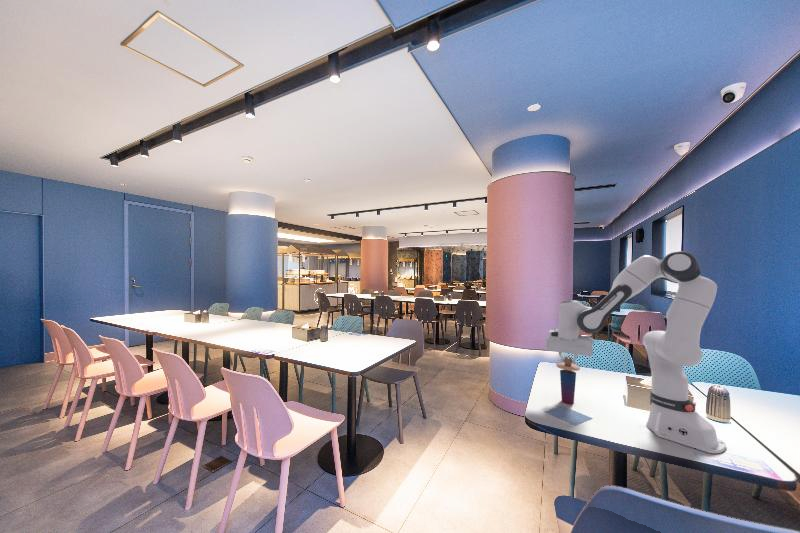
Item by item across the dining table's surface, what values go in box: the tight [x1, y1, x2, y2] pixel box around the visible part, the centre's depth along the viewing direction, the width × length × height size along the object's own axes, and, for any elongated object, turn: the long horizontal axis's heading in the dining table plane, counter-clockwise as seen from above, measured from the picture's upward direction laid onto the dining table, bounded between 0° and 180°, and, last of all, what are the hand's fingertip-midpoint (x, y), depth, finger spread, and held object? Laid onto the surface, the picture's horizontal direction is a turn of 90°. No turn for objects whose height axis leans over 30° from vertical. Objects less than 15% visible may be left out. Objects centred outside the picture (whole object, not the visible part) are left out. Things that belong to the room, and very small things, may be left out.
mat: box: [544, 405, 594, 427], centre depth 133 cm, size 14×13×1 cm
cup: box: [559, 369, 577, 405], centre depth 147 cm, size 7×7×15 cm
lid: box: [555, 356, 581, 372], centre depth 147 cm, size 10×10×5 cm
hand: (567, 362), depth 147 cm, fingers closed on lid, 3 cm apart
